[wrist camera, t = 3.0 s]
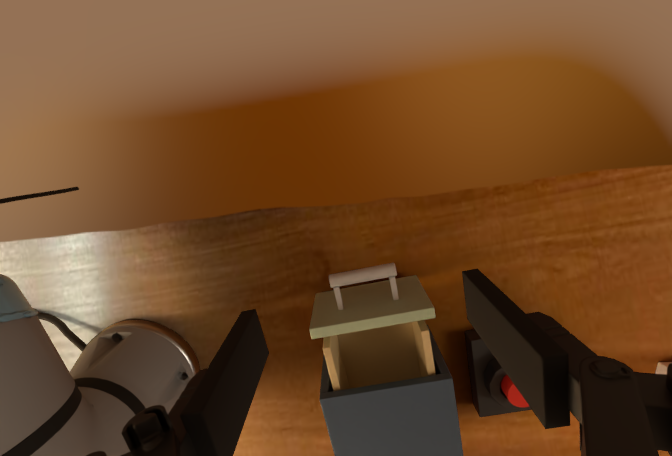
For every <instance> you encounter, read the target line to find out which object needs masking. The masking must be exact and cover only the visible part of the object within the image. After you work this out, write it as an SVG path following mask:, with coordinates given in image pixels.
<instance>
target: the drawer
mask: <svg viewBox="0 0 672 456" xmlns="http://www.w3.org/2000/svg"><path fill="white" fill-rule="evenodd" d="M395 276H397V272H396V267H395V264H394V263H389V264H383V265H378V266H373V267H367V268H362V269H357V270H352V271H346V272H341V273H336V274H330V275H329V282H330V286H331V288H333V289H334V290H332V291H326V292H321V293H316V294H315V300H314V306H313V311H312V317H311V323H310V328H309V331H310V335H311V338H312V339H316V338H322V337H324V340H323V352H324V356H325V360H326V364H327V368H328V372H329V375H330V379H331V383H332V387H333V391H338V390H345V389H351V388H357V387H363V386H369V385H376V384H382V383H388V382H394V381H400V380H407V379H413V378H419V377H425V376H431V375H436V373H435V366H434V360H433V353H432V347H431V340H430V334H429V329H428V327H427V325H426V323H425V321H424V320H425V319H431V318H435V317H436V316H435V310H434V306H433V305H432V303H431V301H430V299H429V297H428V296H427V294H426V292H425V290H424V288H423V287H422V285H421V283H420V281H419V279H418V278H417V276H416V275H413V276H407V277H402V278H397V279H395ZM387 277H389V280H386V281H380V282H375V283H370V284H364V285H359V286H353V287H348V288H343V289H340V288H339V286H344V285H350V284H355V283H360V282H366V281H371V280H377V279H382V278H387Z"/></svg>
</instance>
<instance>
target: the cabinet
mask: <svg viewBox="0 0 672 456" xmlns="http://www.w3.org/2000/svg"><path fill="white" fill-rule="evenodd" d="M427 327H428V325H427ZM428 329H429V327H428ZM429 334H430V340H431V347H432V353H433V360H434V366H435V373H436V375H431V376H425V377H419V378H413V379H407V380H400V381H394V382H388V383H382V384H376V385H369V386H363V387H357V388H351V389H345V390H338V391H333V387H332V383H331V379H330V375H329V372H328V368H327V364H326V360H325V356H324V355H323V367H322V378H321V389H320V403H321V407H322V410H323V414H324V418H325V421H326V425H327V429H328V432H329V436H330V440H331V443H332V447H333V451H334V454H335V456H463V450H462V442H461V435H460V428H459V421H458V414H457V406H456V399H455V392H454V385H453V378H452V376H451V374H450V372H449V370H448V367H447V365H446V363H445V361H444V359H443V357H442V355H441V352H440V350H439V348H438V346H437V344H436V342H435V340H434V338H433V335H432V333H431V331H430V329H429Z"/></svg>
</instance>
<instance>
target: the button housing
mask: <svg viewBox="0 0 672 456" xmlns="http://www.w3.org/2000/svg"><path fill="white" fill-rule="evenodd" d="M465 338H466V347H467V355H468V363H469V371H470V380H471V388H472V396H473V404H474V406H475V408H476V410H477V412H478V414H479V416H480V417H485V416H491V415H498V414H505V413H511V412H518V411H525V410H531V407H530V406H529V407H517V406H514V405H513V404H511V403H510V402H509V400H508V399H507V397H506V396H505V394H504V392H503V391H502V389H501V381H502V379H503V377H504V376H505V375H507V374H506V372H505V371H504V370H503V368H502V367H501V365H500V364H499V362H498V361H497V360H496V358H495V357H494V355H493V354H492V353H491V351H490V350H489V348H488V347H487V346H486V344H485V343H484V341H483V340H482V339H481V337H480V336H479V334H478V333H477V332H476V330H475V329H474V330H468V331H465Z"/></svg>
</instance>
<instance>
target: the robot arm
mask: <svg viewBox="0 0 672 456" xmlns="http://www.w3.org/2000/svg"><path fill="white" fill-rule="evenodd" d="M76 190H79V188H78V187H72V188H67V189H60V190H55V191H48V192H41V193H34V194H27V195H21V196H15V197H8V198H3V199H0V204H2V203H8V202H12V201H18V200H25V199H31V198H37V197H43V196H49V195H55V194H61V193H66V192H71V191H76ZM462 275H463V284H464V293H465V301H466V310H467V319H468V320H469V322H470V323H471V324H472V326H473V327H474V329H475V330H476V332H477V333H478V334H479V336H480V337H481V339H482V340H483V341H484V343H485V344H486V346H487V347H488V348H489V350H490V351H491V353H492V354H493V355H494V357H495V358H496V360H497V361H498V362H499V364H500V365H501V367H502V368H503V370H504V371H505V372H506V374H507V375H508V377H509V378H510V379H511V381H512V382H513V384H514V385H515V386H516V388H517V389H518V391H519V392H520V393H521V395H522V396H523V398H524V399H525V400H526V402H527V403H528V405H529V406H530V407H531V409H532V410H533V412H534V413H535V415H536V416H537V417H538V419H539V420H540V422H541V423H542V424H543V426H544V427H545V429H549V428H556V427H563V426H570V411H571V413H572V414H573V415H574V416H575V417H576V419H577V420H578V421H579V422H580V450H581V456H659V454H658V451H657V450H663V451H668V452H669V454H670V456H672V363H670V364H669V365H668V368H667V375H665V374H651V373H639V372H633V370H632V369H631V368H629V367H628V366H627V365H625V364H624V363H622V362H619V361H617V360H615V359H611V358H607V357H603V356H597V355H596V354H595V353H594V352H593V351H591V350H590V349H589V348H588V347H587V346H585V345H584V344H583V343H582V342H581V341H579V340H578V339H577V338H576V337H575V336H573V335H572V334H570V333H569V331H567V330H566V329H565V328H564V327H562V326H561V325H560V324H559V323H558V322H557V321H555V320H554V319H553V318H552V317H549V316H547V315H545V314H543V313H540V312H535V313H529V314H525V313H524V312H523V311H522V310H521V309H520V308H519V307H518V306H517V305H516V304H515V303H514V302H513V301H511V300H510V299H509V298H508V297H507V296H506V295H505V294H504V293H503V292H502V291H501V290H500V289H499V288H498V287H496V286H495V285H494V284H493V283H492V282H491V281H490V280H489V279H488V278H487V277H486V276H485V275H484V274H482V273H481V272H480V271H479V270H478V269H473V270H467V271H462ZM39 319H42V320H46V321H48V322H51V323H52V324H54V325H55V326H57V327H58V328H59V330H60V331H61V332H62V333H63V334H64V335H65V336H66V337H67V338H68V339H69V340H70V341H71V342H72V343H73V344H75V345H76V346H77V347H78V348H79V349H80V350H81V351H83V352H82V354H81V355H80V357H79V358H78V360H77V361H76V363H75V365H74V366H73V368H72V369H71V371H70V373H69V371H68V369H67V367H66V366H65V364H64V362H63V360H62V359H61V357H60V355H59V354H58V352H57V350H56V348H55V347H54V345H53V343H52V341H51V340H50V338H49V336H48V334H47V333H46V331H45V329H44V328H43V326H42V324H41V322H40V321H39ZM268 354H269V351H268V348H267V345H266V342H265V338H264V335H263V332H262V328H261V325H260V322H259V319H258V315H257V312H256V309H253V310H247V311H242V312H241V314H240V315H239V317H238V319H237V320H236V322H235V324H234V325H233V327H232V329H231V330H230V332H229V334H228V335H227V337H226V339H225V340H224V342H223V344H222V345H221V347H220V349H219V350H218V352H217V354H216V355H215V357H214V359H213V360H212V362H211V364H210V365H209V367H208V369H203V370H200V366H199V362H198V360H197V357H196V355H195V353H194V351H193V350H192V348H191V347H190V346H189V344H188V343H187V342H186V341H185V340H184V339H183V338H182V337H181V336H180V335H178V334H177V333H176V332H174V331H173V330H171V329H169V328H167V327H165V326H163V325H161V324H158V323H155V322H151V321H146V320H126V321H121V322H118V323H115V324H113V325H111V326H109V327H107V328H106V329H104V330H103V331H102V332H100V333H99V334H98V335H97V336H95V337H94V338H93V339H92V340H91V341H90V342H89V343H88V344H87V345H86V344H85V343H84V342H83V341H82V340H81V339H80V338H78V337H77V336H76V335H75V334H74V333H73V332H72V331H71V330H70V329H69V328H68V327H67V326H66V325H65V323H64V322H62V321H61V320H60V319H58V318H57V317H54V316H52V315H49V314H45V313H39V312H38V311H37V309H34V308H32V307H31V305H30V304H29V302H28V301H27V300H26V298H25V297H24V295H23V294H22V292H21V291H20V289H19V288H18V286H17V285H16V283H15V282H14V281H13V280H12V279H10V278H9V277H7V276H4V275H1V274H0V456H233V454H234V451H235V448H236V445H237V442H238V439H239V437H240V434H241V431H242V428H243V425H244V422H245V420H246V417H247V414H248V411H249V408H250V405H251V402H252V400H253V397H254V394H255V391H256V388H257V385H258V383H259V380H260V377H261V374H262V371H263V368H264V365H265V363H266V360H267V357H268Z"/></svg>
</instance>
